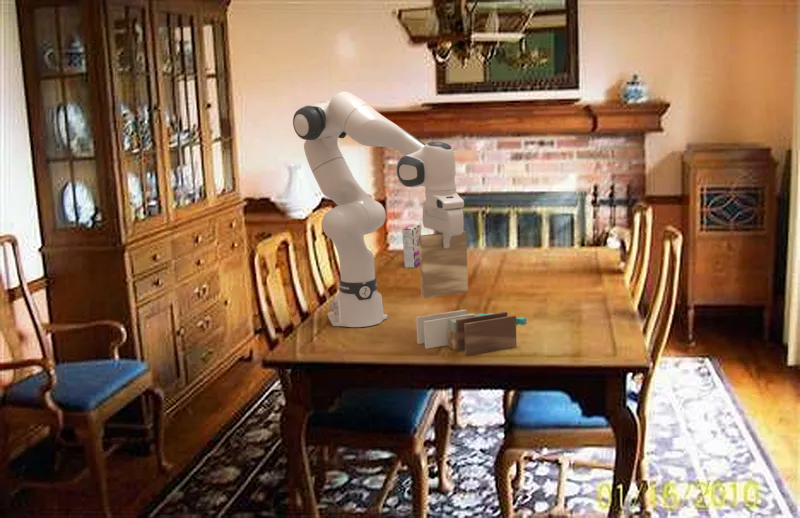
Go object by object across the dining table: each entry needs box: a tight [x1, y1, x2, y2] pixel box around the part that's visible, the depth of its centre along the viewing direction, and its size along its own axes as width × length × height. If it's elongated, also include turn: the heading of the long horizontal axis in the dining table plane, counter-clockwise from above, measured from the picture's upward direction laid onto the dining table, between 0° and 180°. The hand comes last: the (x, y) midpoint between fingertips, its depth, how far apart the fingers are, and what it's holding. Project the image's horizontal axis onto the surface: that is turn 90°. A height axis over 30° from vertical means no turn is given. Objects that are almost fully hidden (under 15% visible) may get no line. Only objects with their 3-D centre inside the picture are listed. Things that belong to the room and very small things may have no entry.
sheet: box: [419, 230, 469, 299], centre depth 266 cm, size 2×14×18 cm, turn 113°
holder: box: [415, 309, 476, 350], centre depth 270 cm, size 6×16×8 cm, turn 113°
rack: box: [456, 311, 517, 356], centre depth 262 cm, size 6×16×9 cm, turn 113°
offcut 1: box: [450, 318, 463, 333], centre depth 264 cm, size 4×5×3 cm
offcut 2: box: [448, 330, 458, 351], centre depth 265 cm, size 4×6×5 cm, turn 113°
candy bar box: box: [401, 224, 422, 269], centre depth 381 cm, size 11×5×16 cm, turn 162°
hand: (442, 246), depth 265 cm, fingers closed on sheet, 2 cm apart
